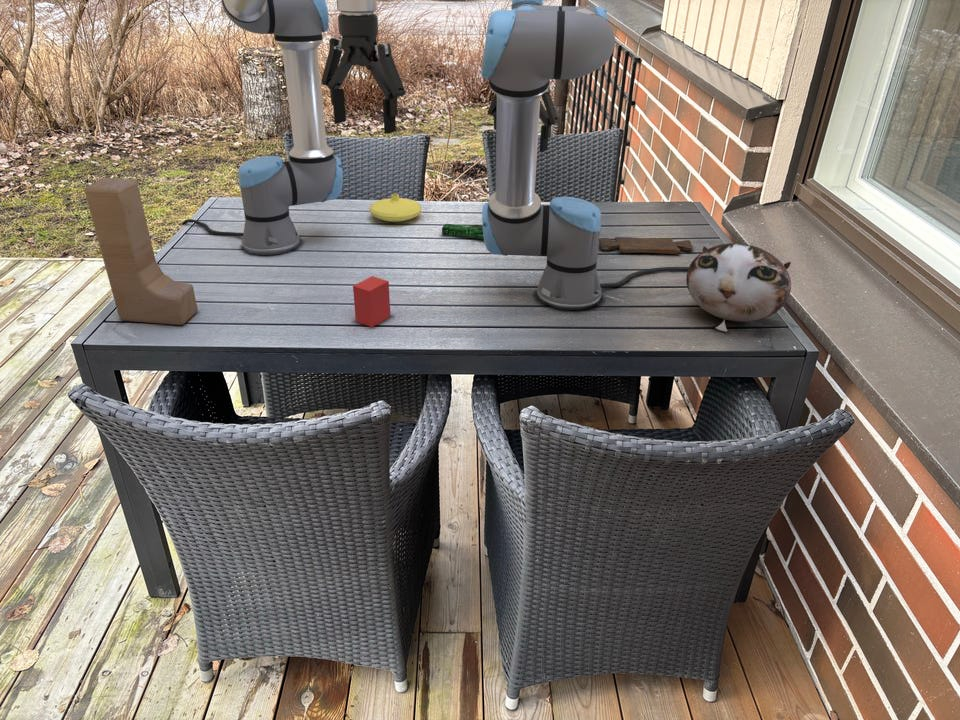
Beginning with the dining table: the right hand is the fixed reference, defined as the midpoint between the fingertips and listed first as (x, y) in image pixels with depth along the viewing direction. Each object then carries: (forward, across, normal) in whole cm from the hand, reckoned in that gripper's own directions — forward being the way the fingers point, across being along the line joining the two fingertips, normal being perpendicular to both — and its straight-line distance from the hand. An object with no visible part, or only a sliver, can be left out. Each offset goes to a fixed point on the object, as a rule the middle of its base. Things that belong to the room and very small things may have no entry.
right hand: (521, 147), depth 190 cm
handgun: (+26, +12, +2) cm, 29 cm away
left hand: (-14, +6, +54) cm, 56 cm away
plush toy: (+26, -65, +14) cm, 71 cm away
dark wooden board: (+26, -33, -15) cm, 44 cm away
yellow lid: (+26, +39, +6) cm, 47 cm away
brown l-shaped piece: (+26, +41, +88) cm, 100 cm away
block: (+26, +1, +61) cm, 66 cm away
